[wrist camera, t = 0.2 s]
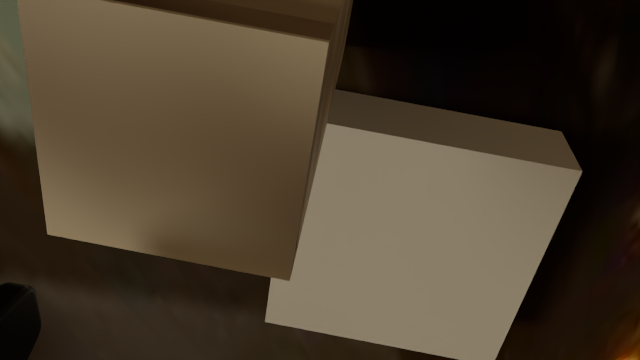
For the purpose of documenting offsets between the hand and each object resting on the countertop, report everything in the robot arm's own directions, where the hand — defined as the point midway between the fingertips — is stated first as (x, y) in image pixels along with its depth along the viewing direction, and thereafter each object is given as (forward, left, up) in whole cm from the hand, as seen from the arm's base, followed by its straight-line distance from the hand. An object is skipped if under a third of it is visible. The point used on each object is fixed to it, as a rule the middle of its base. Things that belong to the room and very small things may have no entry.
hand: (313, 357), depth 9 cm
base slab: (-7, -3, -15) cm, 16 cm away
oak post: (+2, +3, -15) cm, 15 cm away
